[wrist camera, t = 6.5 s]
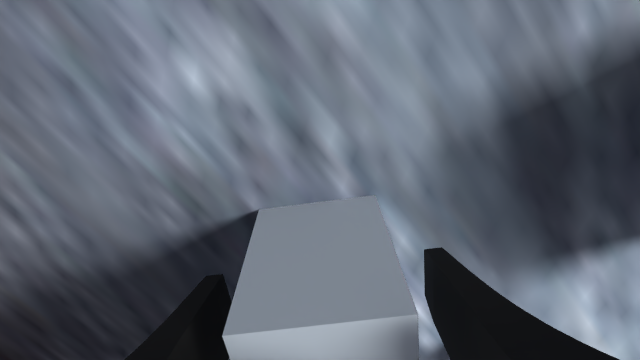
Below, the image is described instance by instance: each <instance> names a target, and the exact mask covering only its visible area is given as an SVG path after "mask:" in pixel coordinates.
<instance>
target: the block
mask: <svg viewBox="0 0 640 360" xmlns="http://www.w3.org/2000/svg"><path fill="white" fill-rule="evenodd" d="M222 337H223V340H224V343H225V346H226V349H227V352H228V355H229V357H230V360H419V339H418V313H417V310H416V307H415V305H414V302H413V299H412V296H411V293H410V291H409V288H408V285H407V282H406V279H405V277H404V274H403V271H402V268H401V266H400V263H399V260H398V257H397V254H396V252H395V249H394V246H393V243H392V240H391V238H390V235H389V232H388V229H387V227H386V224H385V221H384V218H383V215H382V213H381V210H380V207H379V204H378V201H377V199H376V196H375V195H372V196H364V197H356V198H347V199H339V200H331V201H323V202H315V203H307V204H299V205H291V206H283V207H275V208H267V209H259V211H258V215H257V218H256V222H255V225H254V229H253V232H252V235H251V239H250V242H249V246H248V249H247V253H246V256H245V259H244V263H243V266H242V270H241V273H240V277H239V280H238V283H237V287H236V290H235V294H234V297H233V301H232V304H231V307H230V311H229V314H228V318H227V321H226V325H225V328H224V331H223V335H222Z"/></svg>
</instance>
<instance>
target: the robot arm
mask: <svg viewBox="0 0 640 360" xmlns="http://www.w3.org/2000/svg"><path fill="white" fill-rule="evenodd" d="M424 273H425V297H426V300H427V303H428V306H429V310H430V313H431V316H432V319H433V322H434V324H435V326H436V328H437V331H438V333H439V335H440V337H441V339H442V342H443V344H444V346H445V348H446V350H447V352H448V355H449V357H450V359H451V360H619V359H617V358H615V357H612V356H610V355H608V354H606V353H603V352H601V351H599V350H597V349H595V348H592V347H590V346H588V345H586V344H584V343H582V342H580V341H578V340H576V339H574V338H572V337H570V336H568V335H566V334H565V333H563V332H561V331H559V330H557V329H555V328H553V327H551V326H550V325H548V324H546V323H544V322H543V321H541V320H539V319H538V318H536V317H534V316H533V315H531V314H529V313H528V312H526V311H524V310H523V309H521V308H520V307H518V306H516V305H515V304H513V303H512V302H510V301H509V300H508V299H506V298H505V297H503V296H502V295H500V294H499V293H498V292H496V291H495V290H493V289H492V288H491V287H489V286H488V285H487V284H486V283H484V282H483V281H482V280H480V279H479V278H478V277H477V276H475V275H474V274H473V273H472V272H470V271H469V270H468V269H467V268H466V267H464V266H463V265H462V264H461V263H460V262H458V261H457V260H456V259H455V258H454V257H453V256H451V255H450V254H449V253H448V252H447V251H445V250H444V249H443V248H442V247H441V248H433V249H425V250H424ZM231 304H232V302H231V299H230V296H229V292H228V289H227V286H226V283H225V280H224V277H223V274H221V275H212V276H206V277H205V278H204V279H203V280H202V281H201V282H200V283H199V284H198V286H197V287H196V288H195V289H194V290H193V291H192V292H191V293H190V294H189V296H188V297H187V298H186V299H185V300H184V301H183V302H182V303H181V304H180V305H179V307H178V308H177V309H176V310H175V311H174V312H173V313H172V314H171V315H170V316H169V317H168V318H167V319H166V321H165V322H164V323H163V324H162V325H161V326H160V327H159V328H158V329H157V330H156V331H155V332H154V333H153V334H152V335H151V336H150V337H149V338H148V339H147V340H146V341H145V342H144V343H142V344H141V345H140V346H139V347H138V348H137V349H136V350H135V351H134V352H133V353H132V354H130V355H129V356H128V357H127V358H126V359H125V360H228V359H229V355H228V352H227V349H226V346H225V343H224V340H223V337H222V335H223V331H224V328H225V325H226V321H227V318H228V314H229V311H230V307H231Z"/></svg>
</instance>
